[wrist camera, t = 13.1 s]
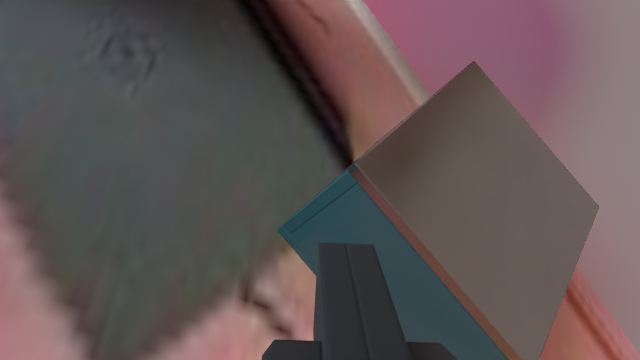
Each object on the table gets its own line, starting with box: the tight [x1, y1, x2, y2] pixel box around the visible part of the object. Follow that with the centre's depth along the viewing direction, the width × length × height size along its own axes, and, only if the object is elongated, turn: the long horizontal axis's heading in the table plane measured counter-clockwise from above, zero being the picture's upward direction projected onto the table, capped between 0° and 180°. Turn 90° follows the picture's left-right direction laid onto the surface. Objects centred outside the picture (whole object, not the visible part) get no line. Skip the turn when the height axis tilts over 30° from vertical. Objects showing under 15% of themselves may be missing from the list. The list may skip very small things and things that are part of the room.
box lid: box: [348, 61, 599, 360], centre depth 29 cm, size 16×14×1 cm
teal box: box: [277, 75, 508, 360], centre depth 32 cm, size 15×14×9 cm
